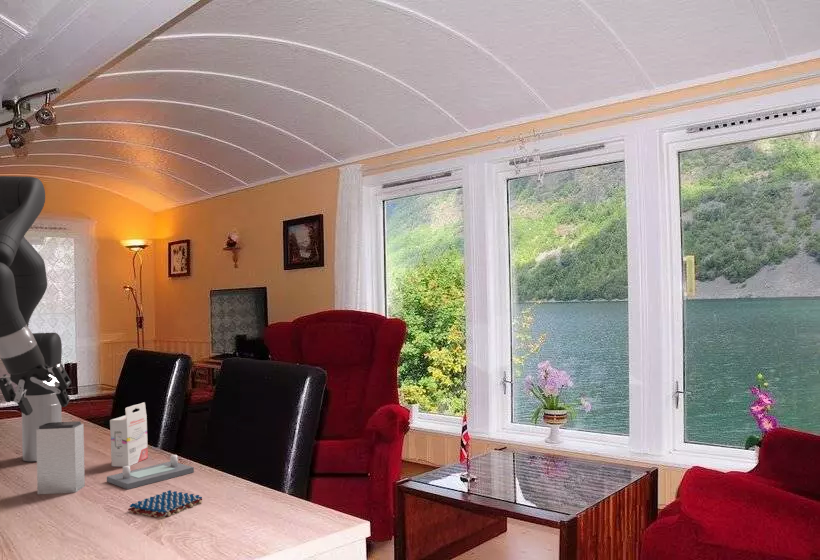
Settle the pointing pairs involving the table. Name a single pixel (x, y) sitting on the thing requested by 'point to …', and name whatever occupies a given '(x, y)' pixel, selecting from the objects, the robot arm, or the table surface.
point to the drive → (60, 457)
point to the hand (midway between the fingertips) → (47, 409)
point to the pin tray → (149, 474)
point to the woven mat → (165, 504)
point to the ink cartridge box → (129, 437)
